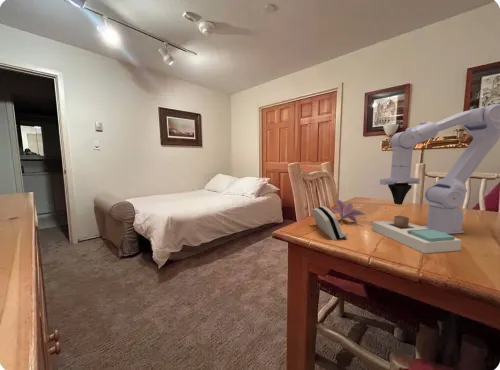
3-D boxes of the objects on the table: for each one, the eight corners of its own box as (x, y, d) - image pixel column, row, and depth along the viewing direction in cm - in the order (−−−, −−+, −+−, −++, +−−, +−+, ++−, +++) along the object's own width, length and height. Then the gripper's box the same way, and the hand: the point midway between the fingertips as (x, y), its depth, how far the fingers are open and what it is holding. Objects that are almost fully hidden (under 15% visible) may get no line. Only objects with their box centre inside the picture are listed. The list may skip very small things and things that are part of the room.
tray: (400, 227, 80) (401, 220, 80) (460, 250, 61) (461, 239, 60) (372, 229, 78) (372, 221, 78) (424, 253, 59) (425, 242, 59)
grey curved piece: (348, 240, 69) (339, 211, 68) (334, 245, 69) (325, 216, 68) (328, 224, 85) (321, 201, 84) (317, 228, 85) (309, 205, 84)
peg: (400, 232, 76) (401, 215, 75) (410, 236, 72) (412, 218, 71) (390, 232, 75) (391, 216, 75) (399, 236, 71) (401, 219, 71)
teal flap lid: (430, 228, 67) (455, 236, 60) (430, 231, 67) (455, 239, 60) (407, 229, 66) (429, 238, 59) (407, 232, 66) (429, 241, 59)
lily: (366, 230, 81) (370, 206, 83) (341, 220, 78) (345, 196, 81) (344, 230, 92) (348, 209, 95) (321, 221, 90) (325, 200, 92)
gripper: (408, 165, 81) (405, 201, 83) (374, 166, 79) (372, 202, 80) (427, 166, 74) (423, 205, 76) (389, 166, 72) (387, 206, 74)
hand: (398, 204), depth 78 cm, fingers closed
